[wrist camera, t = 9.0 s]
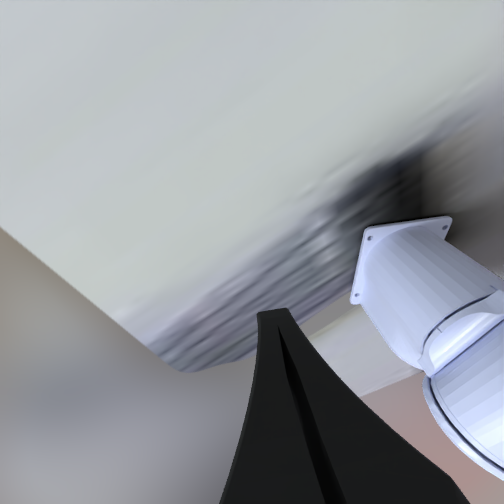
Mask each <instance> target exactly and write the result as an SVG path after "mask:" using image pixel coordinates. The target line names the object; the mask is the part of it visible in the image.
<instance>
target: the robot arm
mask: <svg viewBox="0 0 504 504" xmlns="http://www.w3.org/2000/svg"><path fill="white" fill-rule="evenodd" d="M451 223H452V218H451V217H449V216H441V217H434V218H427V219H420V220H413V221H406V222H399V223H391V224H384V225H377V226H370V227H368V228H366V229H365V231H364V234H363V239H362V244H361V249H360V253H359V258H358V263H357V268H356V272H355V277H354V282H353V287H352V291H351V296H350V302H351V304H361V306H362V307H363V309H364V310H365V312H366V313H367V315H368V316H369V318H370V319H371V321H372V322H373V324H374V325H375V327H376V328H377V330H378V331H379V333H380V334H381V336H382V337H383V339H384V340H385V342H386V343H387V345H388V346H389V347H390V349H391V350H392V351H393V352H394V353H395V354H396V355H397V356H398V357H399V358H401V359H402V360H403V361H405V362H407V363H408V364H410V365H412V366H414V367H416V368H419V369H422V370H424V372H425V373H426V374H427V375H426V376H425V377H424V379H423V384H422V387H423V393H424V396H425V400H426V402H427V404H428V406H429V408H430V411H431V413H432V415H433V416H434V418H435V420H436V421H437V423H438V425H439V426H440V427H441V429H442V430H443V431H444V433H445V434H446V435H447V436H448V437H449V439H450V440H451V441H452V442H453V443H454V444H455V445H456V446H457V447H458V448H459V449H460V450H461V451H462V452H463V453H464V454H466V455H467V456H468V457H469V458H470V459H472V460H473V461H474V462H476V463H477V464H478V465H480V466H481V467H482V468H484V469H485V470H487V471H488V472H490V473H492V474H493V475H495V476H496V477H498V478H500V479H501V480H503V481H504V280H503V279H501V278H500V277H498V276H497V275H495V274H494V273H492V272H491V271H489V270H488V269H486V268H485V267H483V266H482V265H480V264H479V263H477V262H476V261H475V260H473V259H472V258H470V257H469V256H467V255H466V254H464V253H463V252H461V251H460V250H458V249H457V248H455V247H454V246H452V245H451V244H449V243H448V242H446V241H445V240H444V239H445V237H446V234H447V232H448V230H449V227H450V225H451ZM369 236H370V237H369ZM368 237H369V238H368ZM257 322H258V344H257V355H256V364H255V370H254V377H253V383H252V388H251V393H250V398H249V403H248V407H247V412H246V415H245V420H244V423H243V428H242V431H241V435H240V439H239V443H238V446H237V449H236V453H235V456H234V459H233V463H232V466H231V469H230V473H229V476H228V479H227V482H226V485H225V488H224V492H223V494H222V497H221V500H220V503H219V504H470V503H469V501H468V500H467V499H466V497H465V496H464V495H463V493H462V492H461V490H460V489H459V487H458V486H457V485H456V484H455V482H454V481H453V480H452V478H451V477H450V476H449V475H448V474H447V473H445V472H444V471H443V470H441V469H440V468H439V467H438V466H436V465H435V464H434V463H432V462H431V461H430V460H429V459H428V458H426V457H425V456H424V455H423V454H421V453H420V452H419V451H418V450H416V449H415V448H414V447H413V446H412V445H411V444H409V443H408V442H407V441H406V440H405V439H403V438H402V437H401V436H400V435H399V434H398V433H396V432H395V431H394V430H393V429H392V428H391V427H390V426H389V425H387V424H386V423H385V422H384V421H383V420H382V419H381V418H380V417H379V416H378V415H377V414H375V413H374V412H373V411H372V410H371V409H370V408H369V407H368V406H367V405H366V404H364V403H363V401H362V400H361V399H360V398H359V397H358V396H357V395H356V394H355V393H354V392H353V391H352V390H351V389H350V388H349V387H348V386H347V385H346V384H345V383H344V382H343V381H342V380H341V379H340V378H339V377H338V376H337V374H336V373H335V372H334V371H333V370H332V369H331V368H330V366H329V365H328V364H327V363H326V362H325V361H324V359H323V358H322V357H321V356H320V354H319V353H318V352H317V351H316V349H315V348H314V347H313V345H312V344H311V343H310V342H309V340H308V339H307V338H306V337H305V335H304V333H303V332H302V331H301V329H300V328H299V326H298V325H297V323H296V322H295V320H294V318H293V317H292V315H291V313H290V312H289V310H288V309H287V308H281V309H275V310H268V311H262V312H258V313H257Z"/></svg>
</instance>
